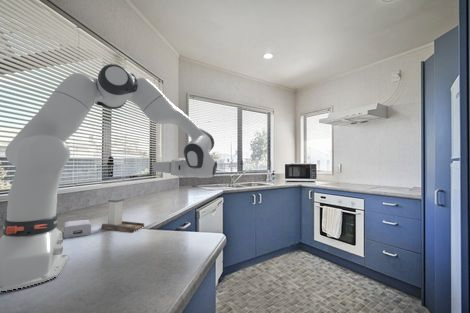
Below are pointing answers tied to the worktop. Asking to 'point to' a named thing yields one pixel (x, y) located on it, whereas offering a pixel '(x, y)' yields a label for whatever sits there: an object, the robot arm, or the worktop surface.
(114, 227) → the track
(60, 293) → the worktop surface
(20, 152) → the robot arm
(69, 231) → the charger
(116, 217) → the white upright block
